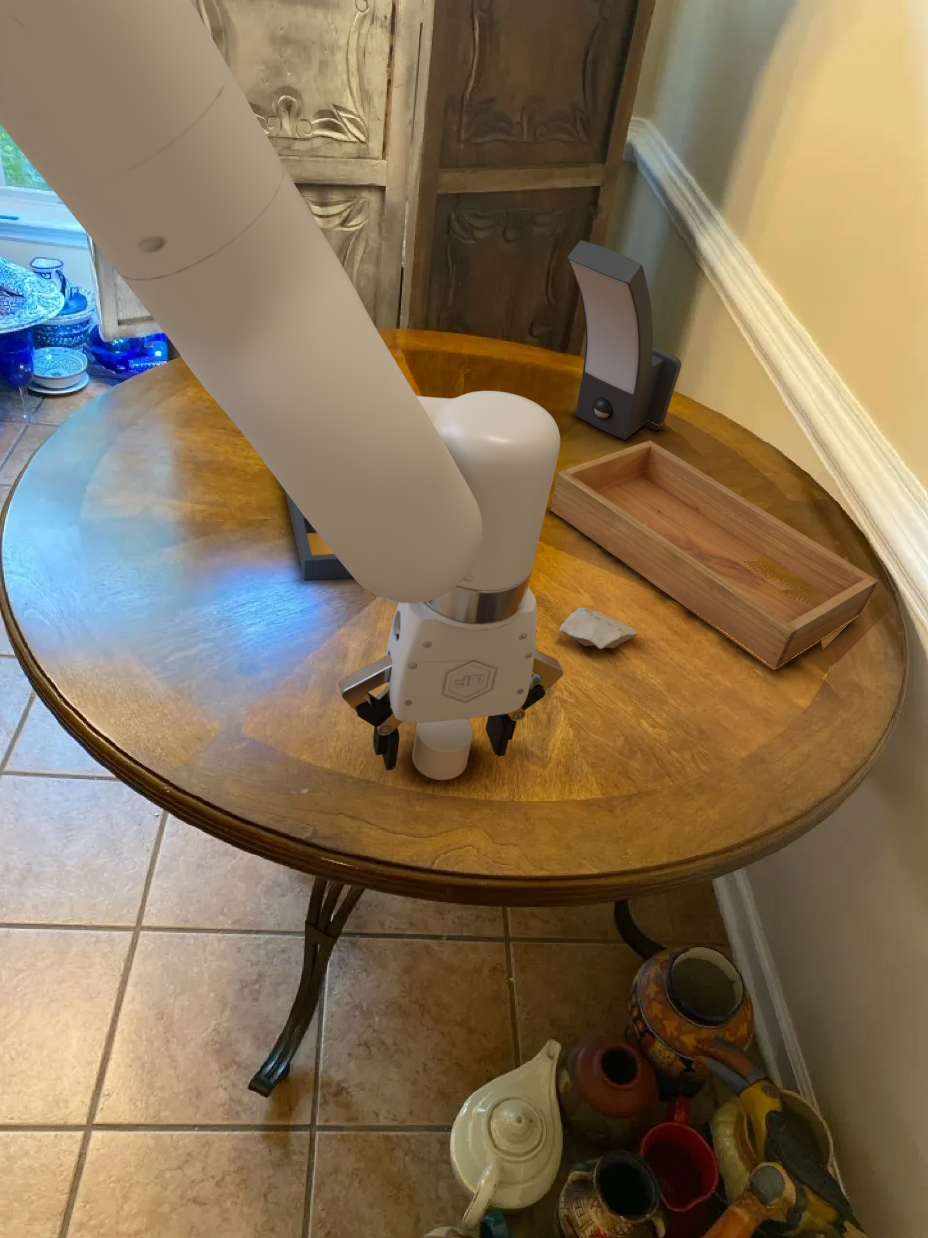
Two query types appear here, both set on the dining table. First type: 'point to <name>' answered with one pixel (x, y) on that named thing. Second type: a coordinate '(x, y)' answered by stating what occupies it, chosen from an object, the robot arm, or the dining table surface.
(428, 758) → the cylinder
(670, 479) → the tray
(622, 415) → the light fixture
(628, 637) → the stone
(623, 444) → the dining table surface
